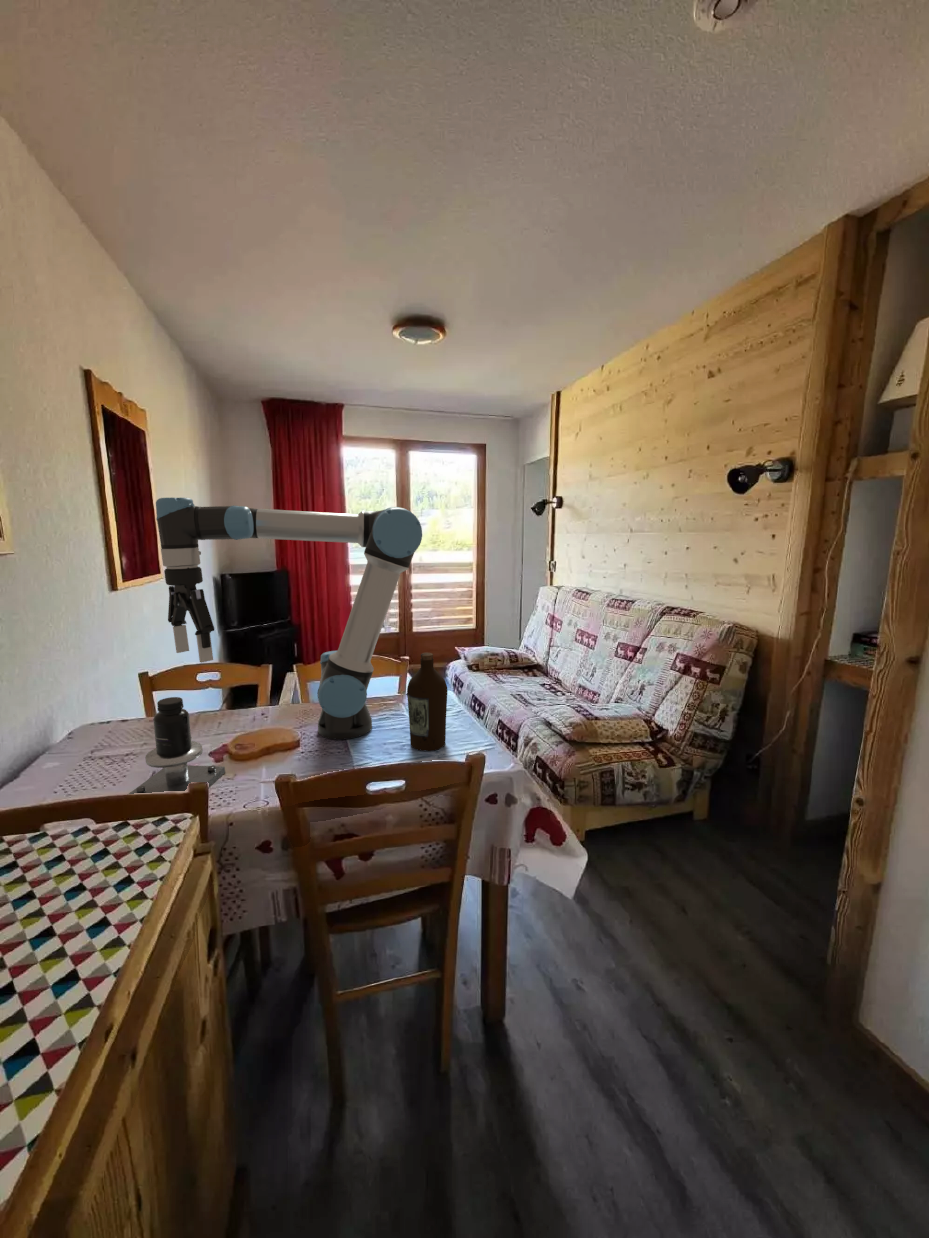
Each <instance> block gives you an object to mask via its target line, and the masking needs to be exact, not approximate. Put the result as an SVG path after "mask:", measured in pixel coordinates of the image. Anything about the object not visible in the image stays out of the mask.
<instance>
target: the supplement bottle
mask: <svg viewBox="0 0 929 1238" xmlns="http://www.w3.org/2000/svg"><path fill="white" fill-rule="evenodd" d="M156 706H157V713H156V714H155V715H154V716H153V729H154V741H155V748H156V751H157V755H158V756H160V757H163V758H173V757H178V756H181V755H184V754H186V753H188V752H189V751H190V750H191V747H192V744H191V741H192V735H191V734H192V733H191V721H190V713H189V711H188V710H187V709H185V708H184V701H183V698H181V697H179V696H173V697H172V696H171V697H165V698H162V699H160V700H158V701H157V705H156Z"/></svg>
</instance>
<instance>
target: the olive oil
mask: <svg viewBox="0 0 929 1238" xmlns="http://www.w3.org/2000/svg"><path fill="white" fill-rule="evenodd" d="M420 657H421V658H420V668H419V669H418V671H417V672H416V673H414V675H413V676H412V677H411V678H410V679H409V681H408V684H407V687H406V688H407V689H406V696H407V708H408V710H407V711H408V722H409V738H410V739H409V742H410V746H411V747H412V748H413V749H415V750H417V751H421V752H433V751H436V750H440V749H442V748H444V746H445V745H446V739H447V738H446V731H447V708H448V707H447V705H448V686H447V682H446V679H445V678H444V677H443V676H442V675H441V674H440V672H438V671H437V670H436V669H435V668H434V658H433V657H434V653H432V652H422V653H421V654H420Z"/></svg>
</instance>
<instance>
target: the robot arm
mask: <svg viewBox="0 0 929 1238" xmlns="http://www.w3.org/2000/svg"><path fill="white" fill-rule="evenodd" d="M155 511H156V518H155V519H156V523H157V529H158V535H159V540H160V541H159V542H160V555H161V560H162V561H161V562H162V566H164V567H166V568H164V570H163V571H164V572H163V573H164V580H165V584H166V585H168V593H169V594H168V595H169V596H168V612H167V621H168V623H170V624H171V626H172V630H173V631H172V632H173V638H174V645H175V651H176V652H175V653H177V654H180V653H185V652H190V646H189V638H188V630H187V624H188V623H187V621H186V615H187V612H188V613H189V615H190V618H191V621H192V622H193V625H194V626H195V627H194V628H195V629H196V631H195V633H194V635H195V636H196V643H197V652H198V659H199V663H205V662H210V661H214V654H213V647H212V638H211V633H212V632H215V625H214V623H213V620H212V617H211V613H210V611H209V608H208V604H207V601H206V596H205V592H204V589H203V588H201V589H199V588H198V589H197V584H198V585H199V584H202V583H203V581H204V579H203V572H202V571H203V570H202V568H201V566H199V565H201V557H200V556H201V555H202V551H200V548H199V541H206V540H217V541H218V540H221V541H222V540H235V541H238V540H245V539H246V540H247V539H265V540H268V539H269V540H283V541H284V540H285V541H286V540H287V541H290V540H291V541H303V542H305V541H306V542H327V543H328V542H329V543H330V542H332V543H349V544H358V545H359V546H360V547H361V548H365V549H364V552H363V554H364V556H365V560H367V561H366V566H365V568H364V572H363V574H362V578H361V581H360V584H359V587H358V589H357V593H356V596H355V598H354V601H353V604H352V607H351V610H350V613H349V616H348V619H347V621H346V625H345V628H344V631H343V634H342V637H341V640H340V642H339V644H338V645H339V646H338V649H337V650H331V651H330V650H329V651H326V652H325V651H324V652H323V653H322V654H321V655H320V662H319V664H320V669H321V672H320V680H319V686H318V688H317V689H318V690H317V700H318V703H319V706H320V707H321V711H320V715H319V718H318V722H317V733H318V734H319V735H320V736H321V737H323V738H325V739H330V740H351V739H354V738H359V737H361V736H364V735H366V734H367V733H369V732H370V731H371V730H372V728H373V720H372V716H371V713H370V710H369V709H368V706H367V704H366V701H367V699H368V698H367V696H368V691H367V690H368V687H369V685H370V681H371V680H372V676H373V673H374V669H375V668H374V666H373V665H372V663H371V660H372V658H373V654H374V652H375V648H376V645H377V642H378V640H379V637H380V634H381V631H382V628H383V625H384V622H385V619H386V618H387V614H388V611H389V609H390V606H391V602H392V599H393V596H394V594H395V592H396V591H395V590H396V587H397V586H398V585H397V584H398V583H399V579H400V577H401V574H402V573H403V572H406V571H408V570H409V569H410V565H411V563H412V560H413V558H414V555H415V552H416V551H417V550H418V549H419V547H420V545H421V543H422V540H423V539H422V538H423V528H422V526H421V525H422V524H421V523H420V522H421V521H420V520H419V519H418V517H417V516H416V515H415V514H414V513H413V512H412V511H411V510H408V509H406V508H404V507H399V506H391V507H388V508H386V509H383V510H362V511H360V512H359V513H356V514H355V513H340V512H339V513H338V512H324V511H323V512H321V511H320V512H319V511H302V510H287V509H286V510H284V509H269V508H268V509H266V508H252V507H251V508H250V507H248V506H245V505H244V506H243V505H241V506H240V505H239V506H238V505H221V506H218V505H215V506H199V505H198V506H197V505H195V504H194V500H193V499H192V498H191V497H160V498H158V499H156V501H155Z"/></svg>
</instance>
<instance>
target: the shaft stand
mask: <svg viewBox="0 0 929 1238" xmlns="http://www.w3.org/2000/svg"><path fill="white" fill-rule="evenodd" d="M191 744H192V747H191V750H190V751H189V752H188V753H186V754H184V755H181V756H178V757H173V758H163V757H160V756H158V755H157V751H156V747H155V748H153V749H152V750H150V751H148V753H146V755H145V757H144V758H145V764H146V766H149V767H151V768H158V769H159V768H160V770H158V771H157V772H156V773H154V774H153V775H152V776H151V777H149V778H148V779H147V780H145V781H144V782H143V783H141V784H140V785H139V786H137V787H136V788H133V790H132V791H131V792H129V793H128V794H134V793H152V792H164V791H185V790H186V789H187V786H188V784H189V783H191V782H208V783H209V788H210V787H211V786H212V785H213V784H215V782H216V781H218V780H219V779H220V778H221V777H222V776H223V775H224V774H226V767H225V766H220V765H219V766H216V765H189V764H188V763H190V762H193V761H194V760H196V759H198V758H199V757H200V756H202V754H203V751H204V750H203V745H202V743H200V742H198V741H194V740H191ZM161 768H162V769H161Z"/></svg>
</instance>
